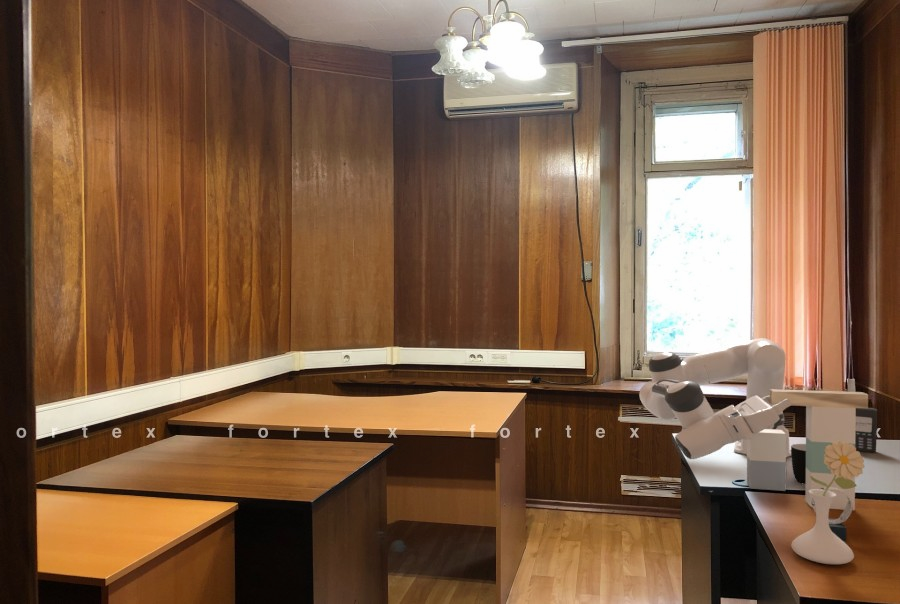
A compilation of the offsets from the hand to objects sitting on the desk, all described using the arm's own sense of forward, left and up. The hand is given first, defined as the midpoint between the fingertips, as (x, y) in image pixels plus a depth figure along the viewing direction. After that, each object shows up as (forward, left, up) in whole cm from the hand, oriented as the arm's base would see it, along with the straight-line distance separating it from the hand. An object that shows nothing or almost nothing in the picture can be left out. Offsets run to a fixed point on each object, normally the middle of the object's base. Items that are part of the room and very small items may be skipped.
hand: (785, 398), depth 169 cm
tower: (0, +11, -28) cm, 30 cm away
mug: (-23, +11, -28) cm, 37 cm away
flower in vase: (+36, 0, -28) cm, 46 cm away
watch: (+22, +5, -28) cm, 36 cm away
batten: (0, +8, -2) cm, 8 cm away
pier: (-13, -2, -28) cm, 31 cm away
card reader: (-65, +39, -28) cm, 80 cm away
